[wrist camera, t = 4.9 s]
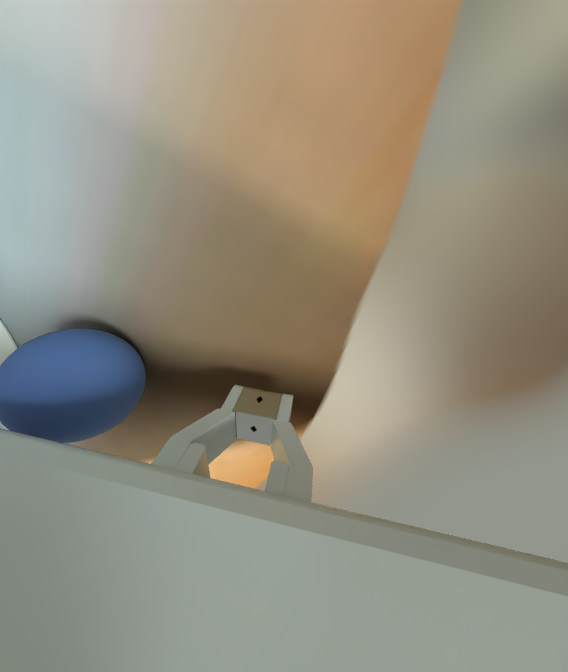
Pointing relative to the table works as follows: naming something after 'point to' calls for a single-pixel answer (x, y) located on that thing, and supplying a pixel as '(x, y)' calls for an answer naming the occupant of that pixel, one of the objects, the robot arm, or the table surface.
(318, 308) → the table surface
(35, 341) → the ball
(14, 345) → the disc
